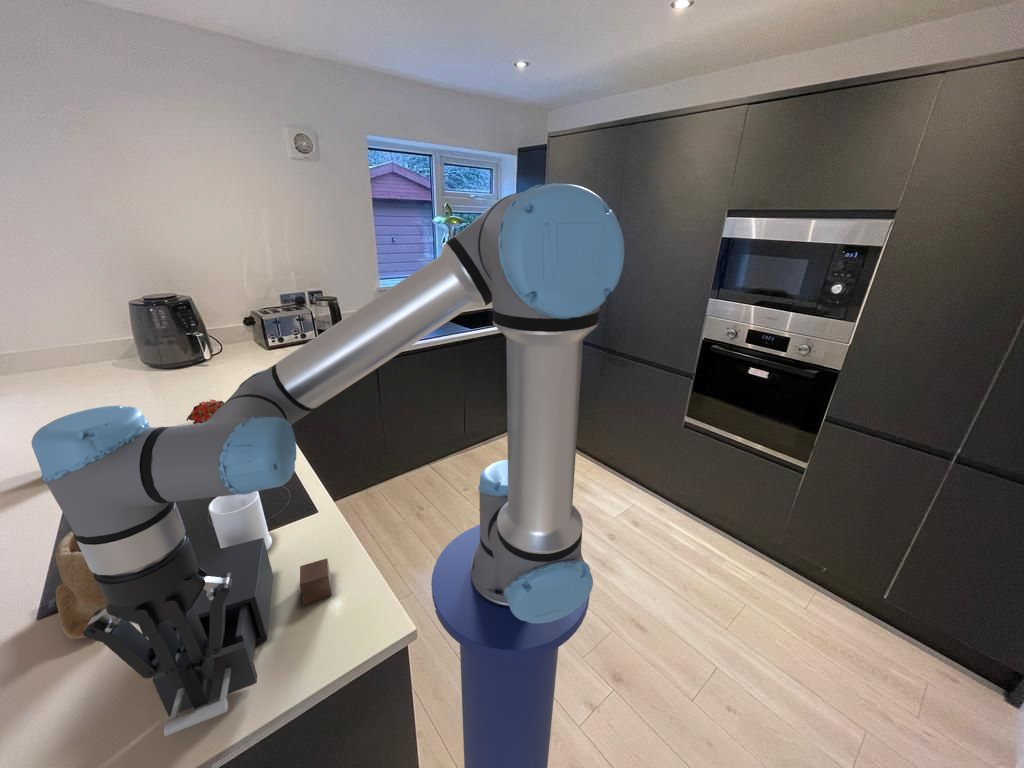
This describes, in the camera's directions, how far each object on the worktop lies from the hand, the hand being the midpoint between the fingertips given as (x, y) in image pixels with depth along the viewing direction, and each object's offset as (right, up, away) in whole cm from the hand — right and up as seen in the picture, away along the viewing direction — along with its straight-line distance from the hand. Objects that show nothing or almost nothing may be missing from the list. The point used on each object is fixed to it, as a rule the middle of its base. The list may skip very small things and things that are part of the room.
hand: (203, 695), depth 50 cm
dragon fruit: (-60, +26, +80) cm, 104 cm away
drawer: (-3, -2, +7) cm, 8 cm away
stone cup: (-30, +2, +19) cm, 35 cm away
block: (+4, +2, +22) cm, 22 cm away
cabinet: (-8, 0, +16) cm, 18 cm away
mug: (-15, +6, +32) cm, 36 cm away
